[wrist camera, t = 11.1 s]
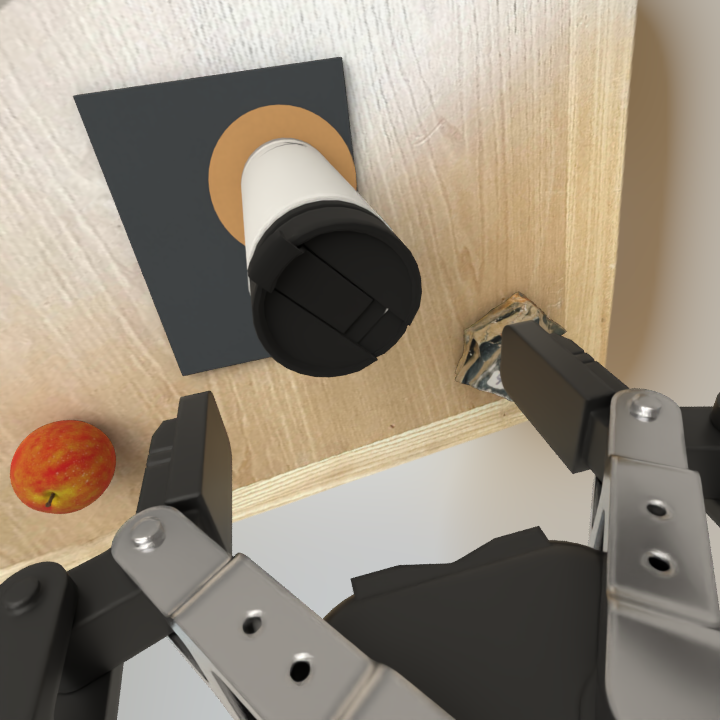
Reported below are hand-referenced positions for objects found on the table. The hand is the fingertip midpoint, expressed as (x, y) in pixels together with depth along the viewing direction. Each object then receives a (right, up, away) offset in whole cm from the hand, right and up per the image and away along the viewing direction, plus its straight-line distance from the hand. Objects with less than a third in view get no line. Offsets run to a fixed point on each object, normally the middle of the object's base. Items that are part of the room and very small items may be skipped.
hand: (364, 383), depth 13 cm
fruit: (-24, -6, +28) cm, 37 cm away
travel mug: (-5, +13, +20) cm, 24 cm away
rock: (+13, +3, +32) cm, 35 cm away
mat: (-8, +10, +22) cm, 25 cm away
